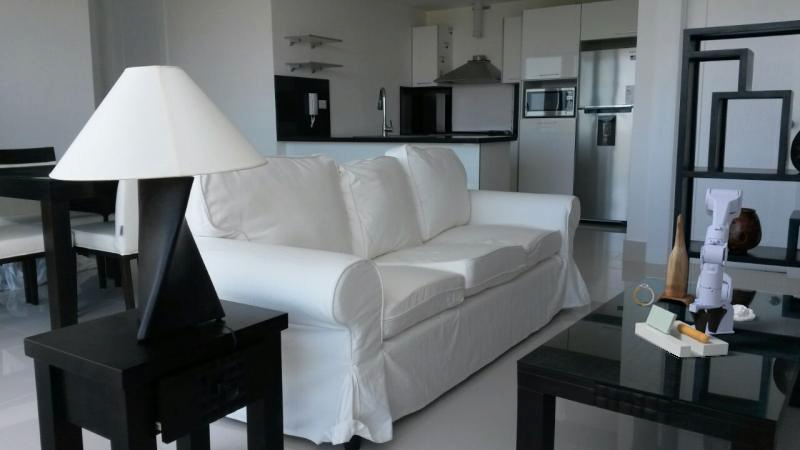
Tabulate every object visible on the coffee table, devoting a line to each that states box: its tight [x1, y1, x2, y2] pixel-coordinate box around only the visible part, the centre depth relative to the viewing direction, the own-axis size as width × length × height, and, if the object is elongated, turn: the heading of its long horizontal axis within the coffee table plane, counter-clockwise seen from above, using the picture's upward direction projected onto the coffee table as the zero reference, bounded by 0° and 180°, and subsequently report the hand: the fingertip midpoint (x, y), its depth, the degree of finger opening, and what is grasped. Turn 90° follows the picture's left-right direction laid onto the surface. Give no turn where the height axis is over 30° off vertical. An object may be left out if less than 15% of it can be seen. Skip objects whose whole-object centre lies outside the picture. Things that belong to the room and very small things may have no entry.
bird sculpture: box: [655, 213, 695, 308], centre depth 228 cm, size 11×12×32 cm
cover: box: [645, 304, 678, 334], centre depth 187 cm, size 6×10×1 cm
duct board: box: [634, 320, 729, 358], centre depth 185 cm, size 15×21×4 cm
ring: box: [632, 282, 656, 307], centre depth 224 cm, size 7×3×8 cm, turn 57°
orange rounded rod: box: [677, 323, 709, 343], centre depth 181 cm, size 2×12×2 cm
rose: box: [732, 304, 756, 322], centre depth 213 cm, size 10×4×10 cm
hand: (706, 333), depth 181 cm, fingers open, 5 cm apart
